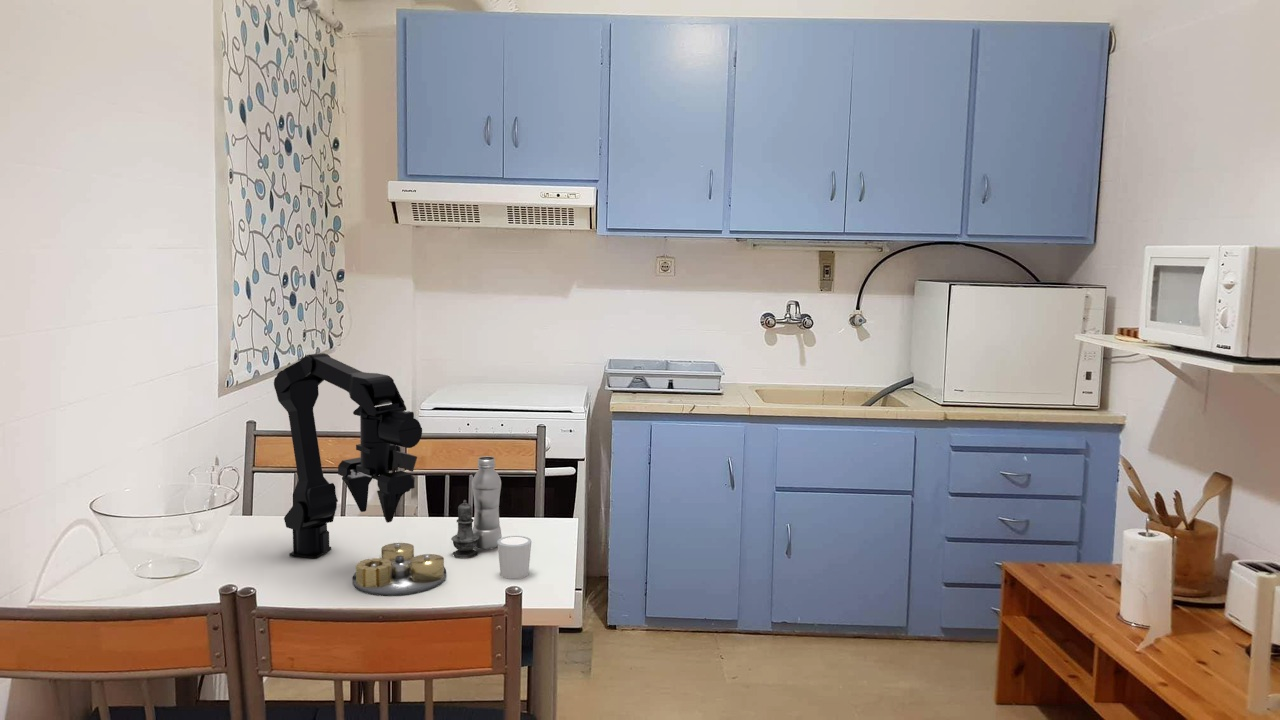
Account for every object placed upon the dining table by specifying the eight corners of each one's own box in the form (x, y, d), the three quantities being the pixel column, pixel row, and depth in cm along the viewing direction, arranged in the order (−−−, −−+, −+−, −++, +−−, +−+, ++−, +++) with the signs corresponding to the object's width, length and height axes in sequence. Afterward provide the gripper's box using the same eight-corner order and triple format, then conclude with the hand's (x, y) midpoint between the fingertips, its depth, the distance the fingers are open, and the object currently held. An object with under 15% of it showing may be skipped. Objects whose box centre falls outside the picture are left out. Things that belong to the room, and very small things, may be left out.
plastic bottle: (498, 541, 211) (498, 454, 209) (504, 551, 205) (504, 460, 202) (469, 544, 209) (469, 455, 207) (474, 554, 203) (473, 462, 200)
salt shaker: (473, 559, 199) (472, 504, 198) (447, 557, 200) (446, 502, 199) (483, 550, 205) (482, 496, 203) (457, 548, 206) (457, 494, 205)
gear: (350, 581, 183) (350, 564, 182) (379, 573, 188) (378, 556, 187) (369, 590, 179) (369, 572, 178) (398, 581, 183) (397, 563, 183)
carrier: (335, 591, 180) (334, 564, 180) (378, 560, 198) (377, 535, 197) (424, 599, 177) (423, 572, 176) (460, 567, 195) (459, 542, 194)
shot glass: (493, 570, 193) (493, 537, 192) (526, 566, 196) (526, 533, 195) (502, 581, 187) (502, 547, 186) (535, 577, 190) (535, 543, 189)
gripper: (438, 442, 186) (437, 519, 188) (384, 426, 198) (384, 499, 200) (388, 450, 177) (389, 531, 180) (336, 433, 190) (337, 509, 192)
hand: (376, 516), depth 188 cm, fingers open, 9 cm apart
